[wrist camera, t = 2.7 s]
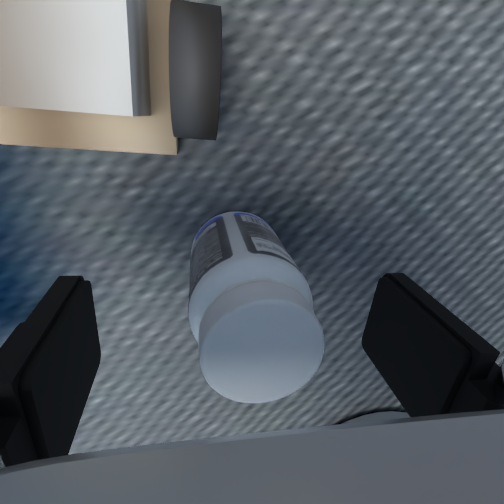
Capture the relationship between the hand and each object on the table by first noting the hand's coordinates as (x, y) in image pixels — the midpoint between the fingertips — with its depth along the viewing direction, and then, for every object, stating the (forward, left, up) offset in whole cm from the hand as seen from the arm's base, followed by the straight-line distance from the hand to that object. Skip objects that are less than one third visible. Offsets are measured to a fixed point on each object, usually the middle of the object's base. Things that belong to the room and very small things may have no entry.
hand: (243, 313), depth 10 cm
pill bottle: (-1, +1, -8) cm, 8 cm away
